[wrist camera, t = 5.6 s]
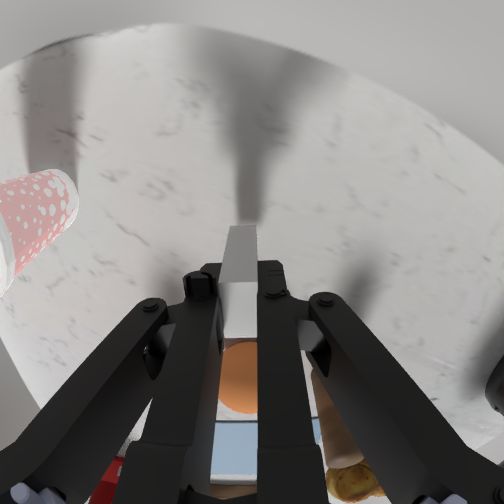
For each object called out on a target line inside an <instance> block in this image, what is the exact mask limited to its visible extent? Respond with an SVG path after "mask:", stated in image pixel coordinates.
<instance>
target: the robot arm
mask: <svg viewBox="0 0 504 504" xmlns="http://www.w3.org/2000/svg"><path fill="white" fill-rule="evenodd" d="M183 285H184V291H185V296H186V297H185V299H184V302H183V303H180V304H177V305H172V306H167V305H166V302H165V301H164V300H163V299H160V298H148V299H145V300H143V301H141V302H139V303H138V304H137V305H136V306H135V307H134V308H133V309H132V310H131V311H130V312H129V313H128V314H127V315H126V316H125V317H124V318H123V320H122V321H121V322H120V323H119V324H118V325H117V326H116V327H115V328H114V329H113V330H112V331H111V332H110V333H109V334H108V336H107V337H106V338H105V339H104V340H103V341H102V342H101V343H100V344H99V345H98V346H97V347H96V349H95V350H94V351H93V352H92V353H91V354H90V355H89V356H88V357H87V358H86V359H85V361H84V362H83V363H82V364H81V365H80V366H79V367H78V368H77V369H76V371H75V372H74V373H73V374H72V375H71V376H70V377H69V378H68V380H67V381H66V382H65V383H64V384H63V385H62V386H61V388H60V389H59V390H58V391H57V392H56V393H55V394H54V396H53V397H52V398H51V399H50V400H49V401H48V403H47V404H46V405H45V406H44V407H43V408H42V410H41V411H40V412H39V413H38V414H37V416H36V417H35V418H34V419H33V420H32V422H31V423H30V424H29V425H28V426H27V428H26V429H25V430H24V431H23V432H22V434H21V435H20V436H19V437H18V439H17V440H16V441H15V442H14V443H12V444H11V445H9V446H8V447H6V448H5V449H3V450H1V451H0V504H84V503H85V502H86V501H87V500H88V498H89V497H90V496H91V494H92V493H93V491H94V490H95V488H96V487H97V485H98V484H99V482H100V480H101V479H102V477H103V475H104V474H105V472H106V471H107V469H108V467H109V466H110V464H111V463H112V461H113V459H114V458H115V456H116V455H117V453H118V451H119V450H120V448H121V447H122V445H123V443H124V442H125V440H126V439H127V437H128V435H129V434H130V432H131V431H132V429H133V428H134V426H135V424H136V423H137V421H138V420H139V418H140V416H141V415H142V413H143V412H144V410H145V408H146V407H147V405H148V404H149V402H150V400H151V399H152V401H151V405H150V408H149V412H148V415H147V418H146V422H145V425H144V429H143V432H142V436H141V438H140V439H139V440H138V441H132V442H131V443H130V444H129V446H128V448H127V451H126V454H125V458H124V461H123V464H122V468H121V471H120V475H119V479H118V482H117V486H116V490H115V493H114V497H113V501H112V503H110V504H331V503H329V500H328V493H327V486H326V479H325V472H324V465H323V459H322V453H321V449H320V447H319V445H317V444H316V442H315V437H314V431H313V424H312V418H311V411H310V405H309V399H308V392H307V386H306V380H305V374H304V368H303V362H302V357H301V351H300V350H304V351H305V353H306V356H307V358H308V360H309V362H310V363H311V365H312V367H313V369H314V370H315V372H316V374H317V376H318V377H319V379H320V381H321V383H322V384H323V386H324V388H325V390H326V391H327V393H328V395H329V397H330V398H331V400H332V402H333V404H334V405H335V407H336V409H337V411H338V412H339V414H340V416H341V418H342V420H343V421H344V423H345V425H346V427H347V428H348V430H349V432H350V434H351V435H352V437H353V439H354V441H355V442H356V444H357V446H358V447H359V449H360V451H361V453H362V454H363V456H364V458H365V460H366V461H367V463H368V465H369V467H370V468H371V470H372V472H373V474H374V475H375V477H376V479H377V481H378V482H379V484H380V486H381V488H382V489H383V491H384V493H385V495H386V496H387V498H388V499H389V500H390V502H391V503H392V504H504V461H502V462H501V463H500V464H498V465H496V464H495V463H493V462H491V461H490V460H488V459H487V458H485V457H483V456H482V455H480V454H478V453H477V452H475V451H474V450H472V449H471V448H469V447H467V446H466V444H465V443H464V442H463V441H462V439H461V438H460V437H459V435H458V434H457V433H456V432H455V430H454V429H453V428H452V427H451V425H450V424H449V423H448V422H447V420H446V419H445V418H444V417H443V416H442V414H441V413H440V412H439V411H438V409H437V408H436V407H435V406H434V405H433V403H432V402H431V401H430V400H429V398H428V397H427V396H426V395H425V394H424V392H423V391H422V390H421V389H420V388H419V386H418V385H417V384H416V383H415V382H414V381H413V379H412V378H411V377H410V376H409V375H408V373H407V372H406V371H405V370H404V369H403V368H402V366H401V365H400V364H399V363H398V362H397V361H396V359H395V358H394V357H393V356H392V355H391V354H390V352H389V351H388V350H387V349H386V348H385V347H384V345H383V344H382V343H381V342H380V341H379V340H378V339H377V337H376V336H375V335H374V334H373V333H372V332H371V331H370V329H369V328H368V327H367V326H366V325H365V324H364V323H363V322H362V320H361V319H360V318H359V317H358V316H357V315H356V314H355V313H354V311H353V310H352V309H351V308H350V307H349V306H348V305H347V304H346V302H345V301H344V300H343V299H342V298H341V297H340V296H338V295H336V294H334V293H331V292H319V293H316V294H313V295H312V296H311V297H310V299H309V301H304V300H299V299H296V298H294V297H292V296H291V295H290V292H289V291H288V290H287V286H286V281H285V275H284V270H283V265H282V264H281V263H280V262H279V261H278V260H267V261H258V258H257V233H256V225H244V226H230V229H229V233H228V238H227V243H226V247H225V252H224V257H223V262H222V263H206V264H205V265H204V266H203V267H201V269H200V271H194V272H191V273H188V274H187V275H185V276H184V277H183ZM223 331H224V338H253V337H257V416H258V448H257V493H253V494H249V495H244V496H239V497H234V498H229V499H218V498H215V497H211V494H210V474H211V464H212V453H213V443H214V433H215V423H216V414H217V404H218V395H219V386H220V376H221V367H222V358H223V350H224V343H223ZM145 347H146V349H145ZM144 349H145V350H144ZM485 396H486V398H487V400H488V402H489V403H490V405H491V407H492V408H493V409H494V410H495V411H497V412H500V413H501V414H502V415H503V416H504V358H503V359H502V360H501V362H500V363H499V365H498V366H497V368H496V369H495V371H494V372H493V374H492V376H491V378H490V380H489V382H488V384H487V387H486V391H485ZM152 397H153V398H152Z"/></svg>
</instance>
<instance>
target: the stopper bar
mask: <svg viewBox="0 0 504 504" xmlns="http://www.w3.org/2000/svg"><path fill="white" fill-rule="evenodd" d="M253 493H257V485H251V486H241V485H211V484H210V494H211V497H215V498H218V499H229V498H234V497H239V496H244V495H249V494H253Z"/></svg>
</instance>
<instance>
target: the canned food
mask: <svg viewBox="0 0 504 504" xmlns="http://www.w3.org/2000/svg"><path fill="white" fill-rule="evenodd" d="M123 461H124V458H121V457H116V456H115V458H114V459H113V461H112V463H111V464H110V466H109V467H108V469H107V471H106V472H105V474H104V475H103V477H102V479H101V480H100V482H99V484H98V485H97V487H96V488H95V490H94V491H93V493H92V494H91V497H90V500H89V503H88V504H110V503H112V501H113V497H114V493H115V490H116V486H117V482H118V479H119V475H120V471H121V468H122V464H123Z"/></svg>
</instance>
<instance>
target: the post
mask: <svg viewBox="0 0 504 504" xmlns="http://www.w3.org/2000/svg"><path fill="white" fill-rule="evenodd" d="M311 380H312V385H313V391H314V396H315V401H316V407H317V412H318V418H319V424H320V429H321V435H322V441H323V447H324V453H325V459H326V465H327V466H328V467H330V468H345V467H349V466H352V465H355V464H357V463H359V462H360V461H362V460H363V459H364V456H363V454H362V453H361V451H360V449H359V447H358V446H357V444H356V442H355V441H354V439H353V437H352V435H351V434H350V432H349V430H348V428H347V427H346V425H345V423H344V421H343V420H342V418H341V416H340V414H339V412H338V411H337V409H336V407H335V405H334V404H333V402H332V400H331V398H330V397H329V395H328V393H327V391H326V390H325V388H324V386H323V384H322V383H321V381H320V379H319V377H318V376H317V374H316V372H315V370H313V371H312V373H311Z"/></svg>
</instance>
